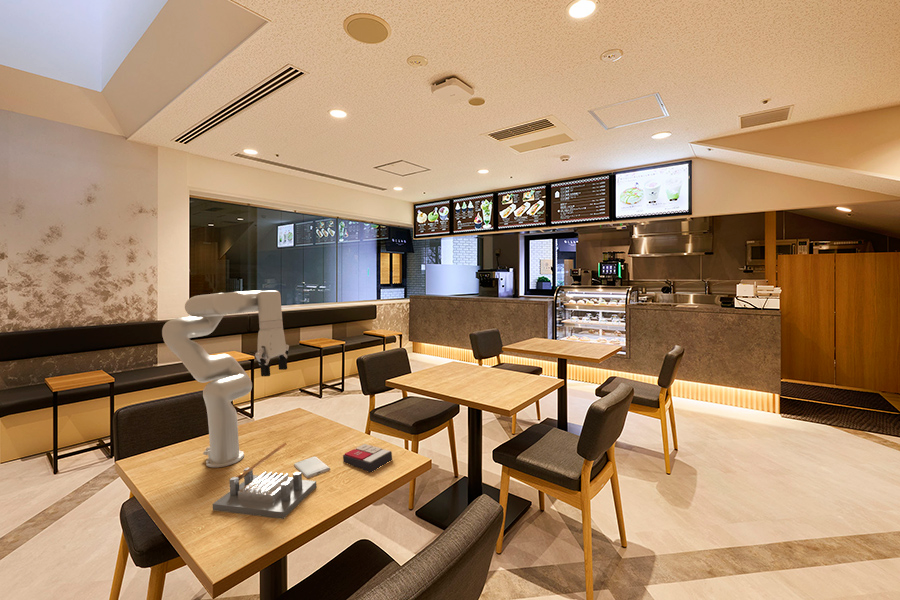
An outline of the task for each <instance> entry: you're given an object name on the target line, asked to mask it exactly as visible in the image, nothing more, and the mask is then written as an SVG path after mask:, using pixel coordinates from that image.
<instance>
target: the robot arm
mask: <svg viewBox="0 0 900 600" xmlns="http://www.w3.org/2000/svg"><path fill="white" fill-rule="evenodd" d="M281 297H282V296H281V292H280V291H279V290H243V291H231V292H217V293H210V294H209V293H208V294H200V295H199V294H198V295H194V296H192V297H190V298H188V299H187V300H186V302H185V303H184V310H185V312H186V313H187V314H188V315H189V316H183V317H182V316H181V317H176V318H173V319H172V318H171V319H170V320H168V321H166V322H165V324H163V327H162V329H161V336H162V338H163V339H162V340H163V342H164V344H165V345H166V347H167V348H168V349H169V351H170V352H171V353H173V354H174V355H175V356H176V357H177V358H178V359H179V360H180V361H181V363H182V364H183V366H184V367H185V368H186V369H187V371H188V372H189V374H191V376H192V377H193V379H195V380H196V382H198V383H201V384H203V383H207V384H206V385H205V386H204V388H203V390H202V397H203V400H204V405H205V407H206V412H207V413H206V415H207V424H208V439H209V446H207V447H206V448H205V450H204V451H203V455H204V456H208V457H207V459H206V460H205V464H206V466H207V467H208V468H222V467H223V468H225V467H227V466H231V465H233V464H236V463H238V462H240V461H241V460H242V459H243V458H244V457H245V452H244V451H242V450H240V443H239V442H240V441H239V426H238V425H239V424H238V412H237V410H236V408H235V406H233V404H232V403H231V402H232V401H235V400H237V399H240V398H242V397H245V396H247V395H248V394H250V392H252V388H253V382H252V380H251V378H250V376H249V375H248V373H247V372H246V371H245V369H244V368H243V367H242V366H241V364H240V363H239V362H238V361H237V359H236V358H235V357H234V356H233V355H231V354H228V353H220V354H219V353H218V354H214V355H212V354H211V355H210V354H209V353H208V352H207V351H206V349H205V348H204V347H203V346H202V345H201V344H200V343H197V342H196V341H194V340H191V339H192V338H198V337H204V336H208V335H210V334H211V333H213V332H214V331H215V330H216V328H217V327H218V325H219V323H220V322H221V320H223V317H224V316H226V315H233V314H244V313H253V312H258V324H259V325H258V326H259V330H258V333H257V351H256V353H255V354H254V355H255V356H254V357H255V358H256V362H257V363H258V365H259V367H260V376H261V377H270V376H271V368H270V366H271V365H270V364H269V362H270V360H271V359H273V358H278V359H277V363H278V366H277V367H278V370H281V371H283V370H285V371H286V370H288V358H289V357H288V354H289V348H290V345H289V344H287V342H286V337H285V331H284V325H283V323H284V322H283V310H282V299H281ZM208 382H209V383H208Z"/></svg>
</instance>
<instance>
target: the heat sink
mask: <svg viewBox="0 0 900 600" xmlns="http://www.w3.org/2000/svg"><path fill="white" fill-rule="evenodd" d="M249 468H250V467H248V466H247V467H245V468H244V469H243V471H246V470H248V469H249ZM253 470H254V469H253ZM253 470H251V471H250V472H248V474H247V475H246V476H245V477H244V478H243V482H244V484H245V485H246V486H245V487H243V488H242V489H241V490H239V485H240V480H239V477H236V476H232V477H231V478H229V482H228V483H229V492H230V496H237V495H238V499H241V500H250V501H259V502H268V503H274V502H275V501H276V500H277V499H278V498H279V497H281V501H282V502H288V501H289V500H290V499H291V497H290V488H291V487H292V486H293V487H294V491H300V490H301V489H302V480H303V476H302V475H303V474H302V472H300V471H295V472H294V473H293V474H292V477H290V476H289V473H285V474H283V472H281V473H279V474H278V472H275V473H273V472H272V471H270V472H268V473H267V471H264V472H263V473H261V474H260V475H258V476H259V477H257V478H256V479H255V480H253V475H254V471H253Z"/></svg>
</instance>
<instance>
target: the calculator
mask: <svg viewBox="0 0 900 600" xmlns="http://www.w3.org/2000/svg"><path fill="white" fill-rule="evenodd" d="M342 458H343V459H342V461H343V463H344V462H345V463H344V464H347V463H348V464H347V465H349V464H350V466H352V467H356V468H358V469H360V470H362V469H363V471H365V472H367V471H368V472H367V473H370V472H372V471H373V472H375V471H377V470H378V469H377V468H379V467H380V466H382V465H384V464H386V463H387V462H389V461H391V460H392V461H393V453H392V450H388V449H383V448H382V447H377V446H373V445H372V444H371V445H370V444H367V443H364V444H362V445H361V444H360V445H359V446H357V447H355V448H354V449H351V450H349V451H347V452H345V453H344V454H343V455H342ZM392 461H391V462H392ZM389 463H390V462H389ZM387 464H388V463H387ZM387 464H386V465H387ZM384 466H385V465H384ZM382 467H383V466H382ZM380 468H381V467H380ZM380 468H379V469H380ZM376 469H377V470H376ZM374 470H375V471H374ZM373 472H372V473H373Z"/></svg>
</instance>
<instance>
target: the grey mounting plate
mask: <svg viewBox="0 0 900 600" xmlns="http://www.w3.org/2000/svg"><path fill="white" fill-rule="evenodd" d="M259 476H260V475H256V474H253V480H255V479H256V478H257V477H259ZM245 486H246V485H245V484H244V481H243V482H241V483H239V490H241V489H242V488H243V487H245ZM317 487H318V485H317V481H316V480H311V479H309V480H308V479H302V489H301V490H300V491H294V487H293V486H292V487H291V488H290V497H291V499H290V500H289V501H288V502H282V501H281V497H279V498H278V499H277V500H276V501H275V502H274V503H268V502H259V501H250V500H241V499H238V495H237V496H230V491H229V492H227V493H225V494H224V495H223V496H221V497H220V498H219V499H217V500H216V501H214V502H213V503H212V511H214V512H224V513H230V514H240V515H246V516H247V515H248V516H255V517H256V516H257V517H263V518H273V519H281V520H284V519H285V518H286V517H288V515H289V514H290V513H291V512H293V510H294V509H295V508H297V507H298V506H299V504H301V503H302V502H303V501H304V500H305V499H306V498H307V497H308V496H309V495H310V494H311V493H312V492H313V491H314V490H315V489H316V488H317Z"/></svg>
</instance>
